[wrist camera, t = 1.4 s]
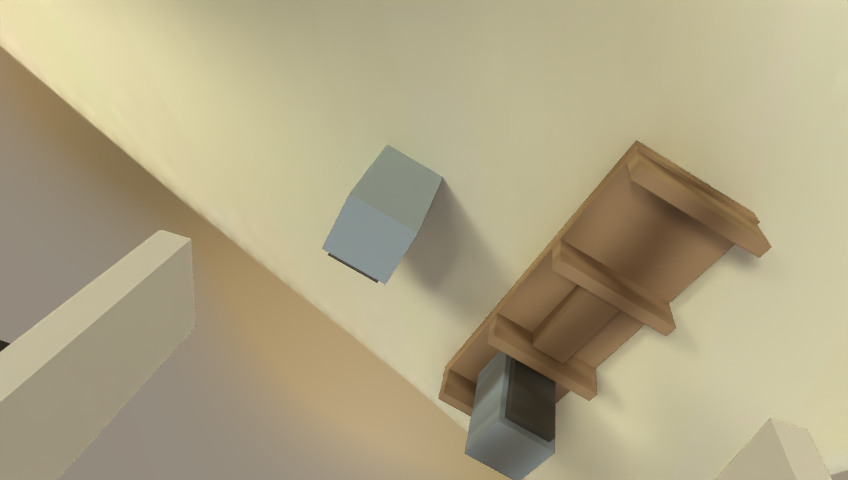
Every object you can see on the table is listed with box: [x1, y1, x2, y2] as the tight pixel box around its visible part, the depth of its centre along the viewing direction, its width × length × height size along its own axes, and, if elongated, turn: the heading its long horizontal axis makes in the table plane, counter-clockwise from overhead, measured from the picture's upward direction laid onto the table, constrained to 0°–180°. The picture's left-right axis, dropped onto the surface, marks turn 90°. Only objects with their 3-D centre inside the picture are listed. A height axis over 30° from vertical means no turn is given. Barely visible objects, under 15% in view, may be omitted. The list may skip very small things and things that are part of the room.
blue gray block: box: [322, 145, 443, 284], centre depth 31 cm, size 4×5×7 cm
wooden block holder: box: [438, 140, 771, 480], centre depth 32 cm, size 8×22×8 cm, turn 152°
